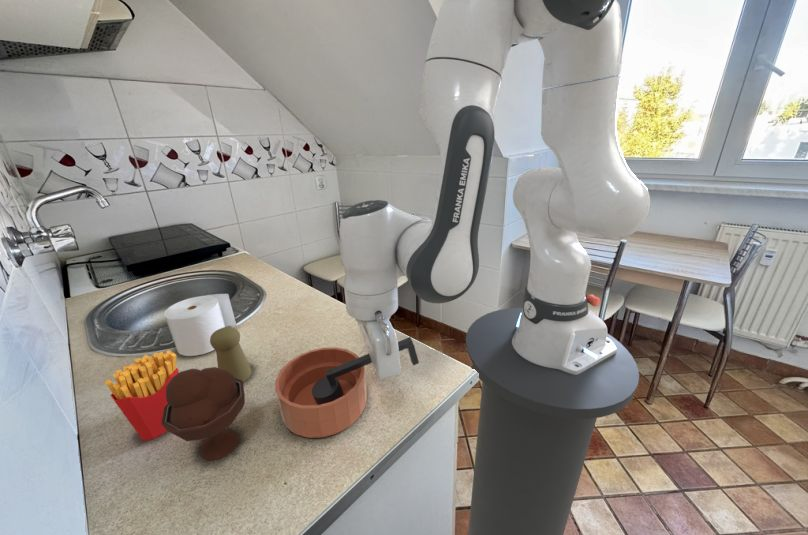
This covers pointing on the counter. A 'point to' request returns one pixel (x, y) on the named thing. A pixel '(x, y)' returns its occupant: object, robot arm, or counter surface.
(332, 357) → the bowl
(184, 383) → the ice cream bowl
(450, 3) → the robot arm
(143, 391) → the french fries
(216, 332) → the cork
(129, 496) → the counter surface
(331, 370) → the ladle
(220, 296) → the toilet tissue
